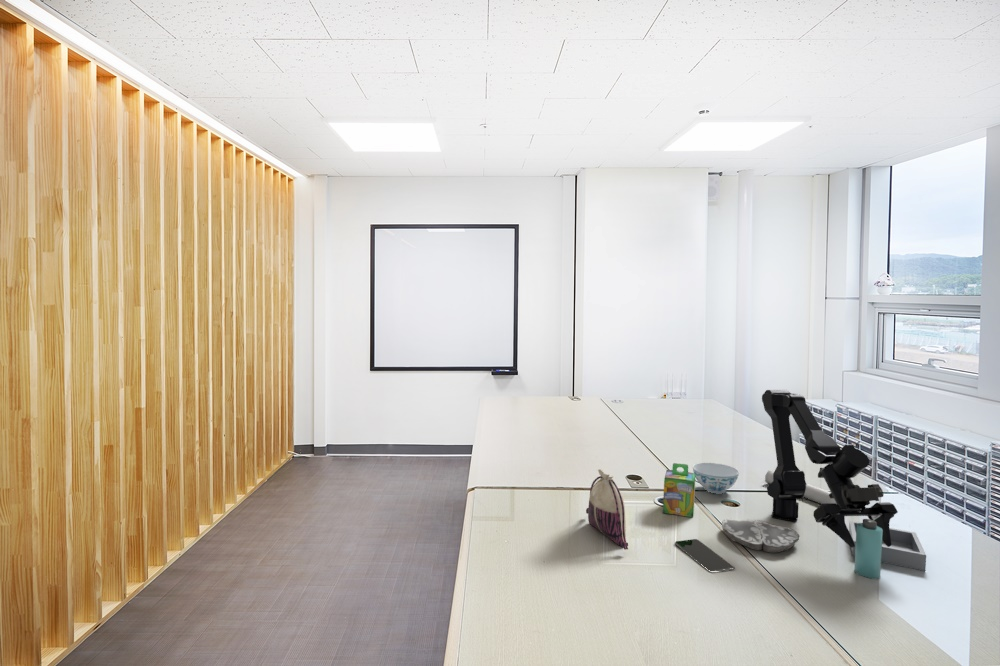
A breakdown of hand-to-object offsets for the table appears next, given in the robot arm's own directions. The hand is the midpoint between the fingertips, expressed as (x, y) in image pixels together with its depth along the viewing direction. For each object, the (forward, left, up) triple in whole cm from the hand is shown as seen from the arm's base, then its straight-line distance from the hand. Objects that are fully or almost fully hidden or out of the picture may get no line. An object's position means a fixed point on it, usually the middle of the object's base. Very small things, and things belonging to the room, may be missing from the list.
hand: (871, 546), depth 127 cm
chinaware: (-41, +42, -7) cm, 59 cm away
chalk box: (-48, +17, -7) cm, 52 cm away
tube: (-15, +53, -8) cm, 56 cm away
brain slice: (-24, +6, -8) cm, 26 cm away
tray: (+5, +17, -7) cm, 19 cm away
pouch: (-62, -12, -7) cm, 64 cm away
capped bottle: (0, +1, -7) cm, 7 cm away
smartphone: (-36, -11, -8) cm, 39 cm away
